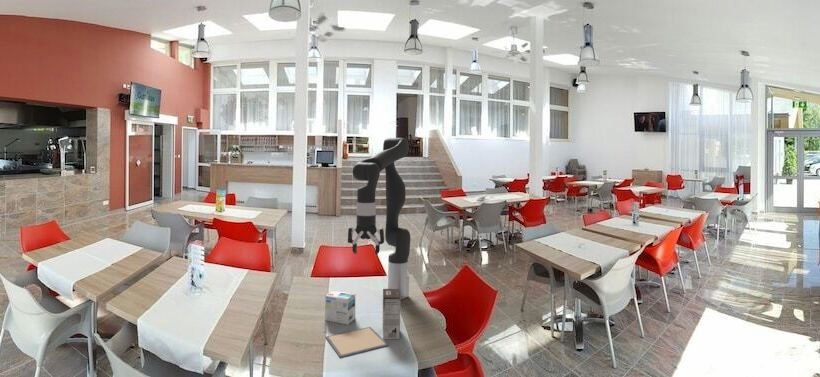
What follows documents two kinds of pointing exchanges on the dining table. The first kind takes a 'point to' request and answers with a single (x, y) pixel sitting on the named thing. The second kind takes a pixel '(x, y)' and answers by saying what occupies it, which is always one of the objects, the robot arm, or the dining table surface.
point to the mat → (356, 342)
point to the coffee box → (391, 314)
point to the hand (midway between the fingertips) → (366, 253)
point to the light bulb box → (340, 307)
